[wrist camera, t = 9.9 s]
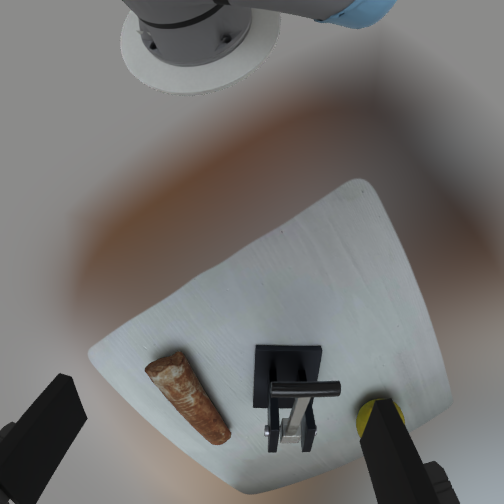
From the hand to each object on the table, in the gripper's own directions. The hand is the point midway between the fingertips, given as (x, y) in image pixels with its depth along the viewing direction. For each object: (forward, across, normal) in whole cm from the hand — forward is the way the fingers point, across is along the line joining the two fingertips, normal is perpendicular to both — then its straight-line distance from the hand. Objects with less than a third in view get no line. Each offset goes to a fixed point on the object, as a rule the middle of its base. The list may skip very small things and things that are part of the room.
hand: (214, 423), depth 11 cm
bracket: (+27, +6, -18) cm, 33 cm away
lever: (+15, +6, -13) cm, 20 cm away
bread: (+27, -7, -22) cm, 36 cm away
